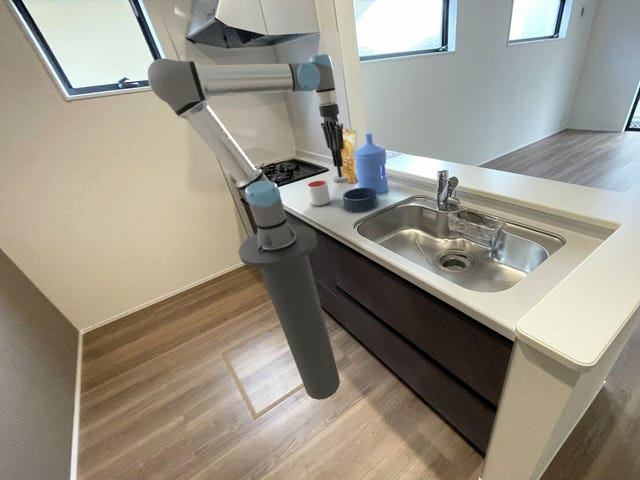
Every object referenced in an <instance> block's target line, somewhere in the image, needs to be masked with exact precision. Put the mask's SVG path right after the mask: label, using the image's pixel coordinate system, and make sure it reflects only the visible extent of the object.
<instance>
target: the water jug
mask: <svg viewBox="0 0 640 480" xmlns="http://www.w3.org/2000/svg"><path fill="white" fill-rule="evenodd" d="M386 164H387V152H386V148H385V147H384V146H382V145H379V144H377V143H374V142H373V134H372V133H366V134H365V143H364V145H362V146H360V147H359V148H356V149H355V166H356V176H357V183H358V188H373V189H375V190H377V194H378V196H379V195H382V194H384V193H386V192H387V191H388V190H389V184H388V176H387V175H388V174H386Z"/></svg>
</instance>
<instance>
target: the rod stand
mask: <svg viewBox="0 0 640 480" xmlns="http://www.w3.org/2000/svg"><path fill="white" fill-rule="evenodd" d="M332 142H333V141H332ZM333 147H334V150H335V146H334V142H333ZM335 159H336V158H335ZM336 165H337V164H336ZM336 170H337V175H336V176H333V183H335V184H344V183H347V182H348V176H347V175H342V170H341V167H337V166H336Z"/></svg>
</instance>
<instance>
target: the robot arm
mask: <svg viewBox="0 0 640 480" xmlns="http://www.w3.org/2000/svg"><path fill="white" fill-rule="evenodd" d="M146 75H147V76H146V77H147V81H148V85H149V87H150V89H151V91H152V92H153V93H154V94H155V96H157V98H159V99H160V100H161V101H163V102H165V103H166V104H167V105H168V106H169V107H170V109H171V110H172V111H173V112H174V114H176V116H177V117H178V118H181V119H185V120H186V121H187V123H189V125H190V126H191V127H193V130H194V131H196V133H197V134H198V135H199V137H200V138H201V139H202V140H203V142H204V143H205V144H206V146H208V147H209V149H210V150H211V151H212V152H213V153H214V156H215V157H217V158H218V160H219V161H220V163H222V165H223V166H224V167H225V168H226V170H227V171H228V172H229V174H230V175H231V176H232V177H233V178H234V179H235V182H236V183H235V187H236V188H237V189H238V190H239V191H240V193H241V194H242V195H243V196H244V197H245V200H246V201H247V203H248V205H249V208H250V211H251V214H252V217H253V219H254V222H255V225H256V228H257V233H258V245H259V249H258V251H259V252H260V251H261V250H263V251H267V252H274V251H280V250H283V249H286V248H288V247H290V246H292V245H293V244H294V243H295V242H296V240H297V237H296V234H295V231H294V229H292V227H291V226H290V225H291V224H290V222H289V221H288V219H287V215H286V210H285V207H284V205H283V201H282V200H283V199H282V196H281V191H280V189H279V187H278V185H277V184H276V183H275V182H274V181H271V180H269V178H268V177H267V176H266V175H265V173H264V172H263V170H262V169H261V168H258V167H255V166H254V165H253V164H252V162H251V161H250V159H249V158H248V157H247V155H246V154H245V152H243V150H242V148H241V147H240V146H239V145H238V143H237V142H236V141H235V139H234V138H233V137H232V136H231V134H230V133H229V131H228V130H227V129H226V128H225V126H224V124H222V122H221V120H219V118H218V116H217V115H216V114H215V112H214V111H213V110H212V109H211V107H210V106H209V98H210V97H222V96H239V95H254V94H256V95H257V94H271V93H273V94H274V93H290V92H291V93H294V92H296V93H297V92H313V91H315V95H316V101H317V104H318V105H319V106H318V111H319V115H320V117H321V118H323V122H321V123H320V126H321V128H322V132H323V136H324V139H325V143H326V147H327V149H329V150H330V151H331V156H332V163H333V167H335V168H337V167H341V166H343V162H342V155H341V150H342V149H344V144H343V128H344V123H340V122H339V119H338V115H339V114H340V110H339V104H338V103H337V102H338V97H337V90H336V85H335V84H336V83H335V77H334V68H333V65H332V60H331V56H330V54H327V53H324V54H323V53H322V54H317V55H312V56H310V57H309V62H307V61H306V62H298V63H297V62H295V63H294V62H293V63H254V64H253V63H251V64H250V63H249V64H246V63H245V64H212V65H211V64H208V65H205V64H204V65H201V64H200V63H198V62H197V61H195V60H192V61H191V60H190V61H189V60H188V61H187V60H176V59H170V58H167V57H165V58H158V59H155V60H153V61H152V62H151V63H150V65H149V66H148V68H147V73H146ZM332 141H333V142H334V146H335V150H334V147H333V142H332ZM335 158H336V159H335ZM336 164H337V165H336Z"/></svg>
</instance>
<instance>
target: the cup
mask: <svg viewBox="0 0 640 480" xmlns="http://www.w3.org/2000/svg"><path fill="white" fill-rule="evenodd" d="M306 186H307V190H308V196H309V200H310V204H312V206H315V207H319V206H321V207H322V206H325V205H327V204H329V203H330V202H331V195H330V191H329V185H328V181H327V180H314V181H311V182H309V183H308V184H307V185H306Z"/></svg>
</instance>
